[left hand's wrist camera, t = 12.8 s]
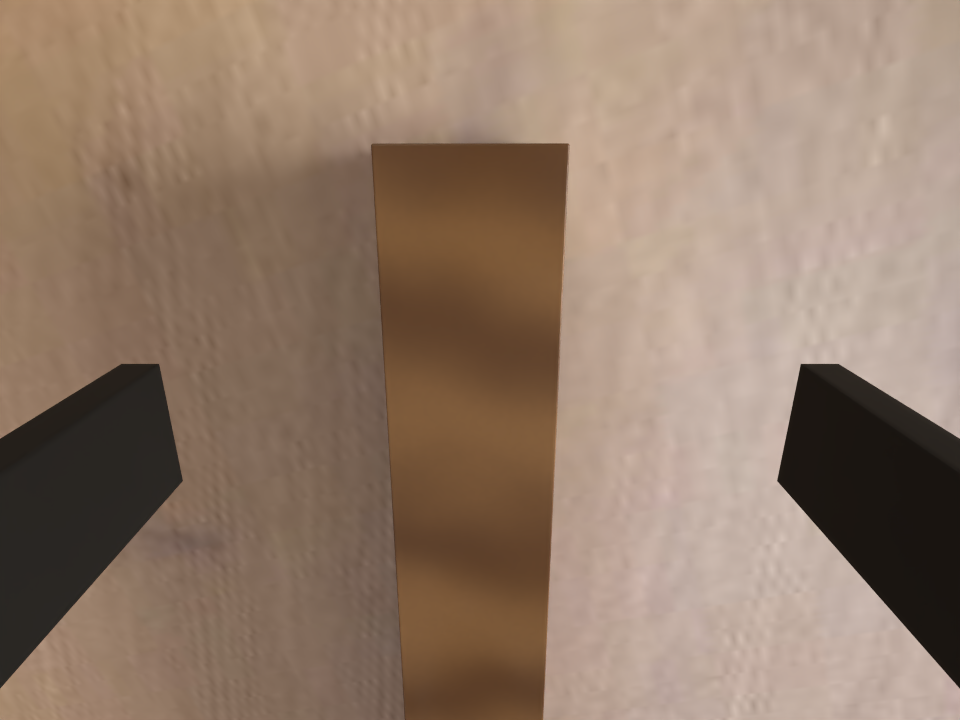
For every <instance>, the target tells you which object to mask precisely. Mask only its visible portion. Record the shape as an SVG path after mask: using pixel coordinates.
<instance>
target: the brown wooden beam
mask: <svg viewBox="0 0 960 720" xmlns="http://www.w3.org/2000/svg"><path fill="white" fill-rule="evenodd" d="M371 150H372V167H373V184H374V201H375V218H376V235H377V252H378V269H379V286H380V303H381V320H382V337H383V354H384V371H385V388H386V405H387V422H388V439H389V456H390V473H391V490H392V507H393V524H394V541H395V558H396V575H397V592H398V609H399V626H400V643H401V660H402V677H403V694H404V712H405V720H543V708H544V686H545V664H546V643H547V621H548V599H549V577H550V556H551V534H552V512H553V491H554V469H555V447H556V426H557V404H558V382H559V361H560V339H561V317H562V295H563V274H564V252H565V230H566V209H567V187H568V165H569V144H372V145H371Z"/></svg>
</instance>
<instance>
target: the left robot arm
mask: <svg viewBox="0 0 960 720" xmlns="http://www.w3.org/2000/svg"><path fill="white" fill-rule="evenodd" d="M182 481H183V480H182V475H181V470H180V465H179V460H178V455H177V450H176V445H175V440H174V435H173V431H172V426H171V421H170V416H169V411H168V406H167V401H166V396H165V391H164V386H163V381H162V376H161V371H160V366H159V364H121V365H119V366H118V367H116V368H114V369H113V370H111V371H109V372H108V373H106V374H105V375H103V376H101V377H100V378H98V379H96V380H95V381H93V382H92V383H90V384H88V385H87V386H85V387H84V388H82V389H80V390H79V391H77V392H75V393H74V394H72V395H71V396H69V397H67V398H66V399H64V400H62V401H61V402H59V403H58V404H56V405H54V406H53V407H51V408H49V409H48V410H46V411H45V412H43V413H41V414H40V415H38V416H36V417H35V418H33V419H32V420H30V421H28V422H27V423H25V424H24V425H22V426H20V427H19V428H17V429H15V430H14V431H12V432H11V433H9V434H7V435H6V436H4V437H2V438H1V439H0V688H1V687H2V686H3V685H4V683H5V682H6V681H7V680H8V679H9V678H10V677H11V675H12V674H13V673H14V672H15V671H16V670H17V669H18V668H19V666H20V665H21V664H22V663H23V662H24V661H25V660H26V658H27V657H28V656H29V655H30V654H31V653H32V652H33V650H34V649H35V648H36V647H37V646H38V645H39V644H40V643H41V641H42V640H43V639H44V638H45V637H46V636H47V635H48V633H49V632H50V631H51V630H52V629H53V628H54V627H55V625H56V624H57V623H58V622H59V621H60V620H61V619H62V618H63V616H64V615H65V614H66V613H67V612H68V611H69V610H70V608H71V607H72V606H73V605H74V604H75V603H76V602H77V600H78V599H79V598H80V597H81V596H82V595H83V594H84V593H85V591H86V590H87V589H88V588H89V587H90V586H91V585H92V583H93V582H94V581H95V580H96V579H97V578H98V577H99V575H100V574H101V573H102V572H103V571H104V570H105V569H106V568H107V566H108V565H109V564H110V563H111V562H112V561H113V560H114V558H115V557H116V556H117V555H118V554H119V553H120V552H121V550H122V549H123V548H124V547H125V546H126V545H127V544H128V543H129V541H130V540H131V539H132V538H133V537H134V536H135V535H136V533H137V532H138V531H139V530H140V529H141V528H142V527H143V525H144V524H145V523H146V522H147V521H148V520H149V519H150V518H151V516H152V515H153V514H154V513H155V512H156V511H157V510H158V508H159V507H160V506H161V505H162V504H163V503H164V502H165V500H166V499H167V498H168V497H169V496H170V495H171V494H172V493H173V491H174V490H175V489H176V488H177V487H178V486H179V485H180V483H181V482H182ZM777 481H778V482H779V483H780V485H781V486H782V487H783V488H784V489H785V490H786V491H787V493H788V494H789V495H790V496H791V497H792V498H793V499H794V500H795V502H796V503H797V504H798V505H799V506H800V507H801V508H802V510H803V511H804V512H805V513H806V514H807V515H808V516H809V518H810V519H811V520H812V521H813V522H814V523H815V524H816V525H817V527H818V528H819V529H820V530H821V531H822V532H823V533H824V535H825V536H826V537H827V538H828V539H829V540H830V541H831V543H832V544H833V545H834V546H835V547H836V548H837V549H838V550H839V552H840V553H841V554H842V555H843V556H844V557H845V558H846V560H847V561H848V562H849V563H850V564H851V565H852V566H853V568H854V569H855V570H856V571H857V572H858V573H859V574H860V575H861V577H862V578H863V579H864V580H865V581H866V582H867V583H868V585H869V586H870V587H871V588H872V589H873V590H874V591H875V593H876V594H877V595H878V596H879V597H880V598H881V599H882V600H883V602H884V603H885V604H886V605H887V606H888V607H889V608H890V610H891V611H892V612H893V613H894V614H895V615H896V616H897V618H898V619H899V620H900V621H901V622H902V623H903V624H904V625H905V627H906V628H907V629H908V630H909V631H910V632H911V633H912V635H913V636H914V637H915V638H916V639H917V640H918V641H919V643H920V644H921V645H922V646H923V647H924V648H925V649H926V650H927V652H928V653H929V654H930V655H931V656H932V657H933V658H934V660H935V661H936V662H937V663H938V664H939V665H940V666H941V668H942V669H943V670H944V671H945V672H946V673H947V674H948V675H949V677H950V678H951V679H952V680H953V681H954V682H955V683H956V685H957V686H958V687H959V688H960V439H959V438H958V437H956V436H954V435H953V434H951V433H949V432H948V431H946V430H945V429H943V428H941V427H940V426H938V425H936V424H935V423H933V422H932V421H930V420H928V419H927V418H925V417H924V416H922V415H920V414H919V413H917V412H915V411H914V410H912V409H911V408H909V407H907V406H906V405H904V404H902V403H901V402H899V401H898V400H896V399H894V398H893V397H891V396H889V395H888V394H886V393H885V392H883V391H881V390H880V389H878V388H876V387H875V386H873V385H872V384H870V383H868V382H867V381H865V380H864V379H862V378H860V377H859V376H857V375H855V374H854V373H852V372H851V371H849V370H847V369H846V368H844V367H842V366H841V365H839V364H801V366H800V371H799V376H798V381H797V386H796V391H795V396H794V401H793V406H792V411H791V416H790V421H789V426H788V431H787V435H786V440H785V445H784V450H783V455H782V460H781V465H780V470H779V475H778V480H777Z"/></svg>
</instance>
